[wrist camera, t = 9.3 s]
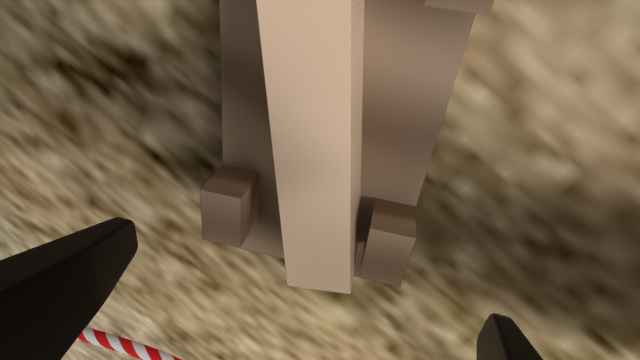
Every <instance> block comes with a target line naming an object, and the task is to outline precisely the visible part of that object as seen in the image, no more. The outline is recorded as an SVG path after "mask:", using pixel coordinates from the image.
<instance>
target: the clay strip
mask: <svg viewBox="0 0 640 360" xmlns="http://www.w3.org/2000/svg"><path fill="white" fill-rule="evenodd" d="M256 3H257V12H258V21H259V30H260V39H261V48H262V57H263V66H264V75H265V85H266V94H267V103H268V112H269V121H270V130H271V139H272V148H273V157H274V166H275V175H276V185H277V194H278V203H279V212H280V221H281V230H282V239H283V248H284V257H285V266H286V275H287V285H288V286H295V287H302V288H309V289H317V290H324V291H331V292H339V293H346V294H350V292H351V287H352V282H353V277H354V272H355V266H356V261H357V256H358V251H359V246H360V198H361V146H362V94H363V42H364V0H256Z"/></svg>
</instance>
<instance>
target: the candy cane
mask: <svg viewBox="0 0 640 360" xmlns="http://www.w3.org/2000/svg"><path fill="white" fill-rule="evenodd" d="M77 339H78V340H81V341H83V342H87V343H90V344H94V345H98V346H101V347H105V348H108V349H111V350H115V351H118V352H121V353H124V354H127V355H130V356H133V357H136V358H139V359H142V360H181V359H179V358H176V357H174V356H172V355H170V354H167V353H165V352H162V351H160V350H157V349H154V348H151V347H149V346H146V345H143V344H140V343H137V342H134V341H131V340H128V339H125V338H121V337H118V336H115V335H112V334H108V333H105V332H101V331H97V330H94V329H90V328H85V329H84V330H83V331H82V333H81V334H80V335H79V337H78V338H77Z"/></svg>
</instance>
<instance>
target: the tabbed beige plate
mask: <svg viewBox="0 0 640 360" xmlns="http://www.w3.org/2000/svg"><path fill="white" fill-rule="evenodd" d="M493 2H494V0H364V42H363V94H362V146H361V198H360V246H359V251H358V256H357V261H356V266H355V272H354V276H356V277H360V278H364V279H368V280H372V281H376V282H380V283H384V284H388V285H394V286H398V287H400V286H401V283H402V280H403V277H404V274H405V271H406V268H407V265H408V262H409V259H410V256H411V253H412V250H413V247H414V244H415V240H416V205H417V202H418V199H419V195H420V192H421V189H422V186H423V182H424V179H425V176H426V173H427V169H428V166H429V163H430V160H431V156H432V153H433V150H434V147H435V144H436V140H437V137H438V134H439V131H440V127H441V124H442V121H443V118H444V114H445V111H446V108H447V105H448V102H449V98H450V95H451V92H452V89H453V85H454V82H455V79H456V76H457V72H458V69H459V66H460V63H461V59H462V56H463V53H464V50H465V47H466V43H467V40H468V37H469V34H470V30H471V27H472V24H473V21H474V17H475V14H483V15H489V14H490V11H491V8H492V5H493ZM219 8H220V55H221V102H222V149H223V165H222V166H221V167H220V168H219V169H218V170H217V171H216V173H215V174H214V175H213V176H212V177H211V178H210V179H209V180H208V181H207V182H206V183H205V184H204V186H203V187H202V188H201V189H200V201H201V218H202V234H203V239H205V240H209V241H214V242H218V243H222V244H225V245H229V246H233V247H237V248H241V249H245V250H249V251H253V252H257V253H261V254H266V255H270V256H274V257H278V258H282V259H285V257H284V248H283V239H282V230H281V221H280V212H279V203H278V194H277V185H276V175H275V166H274V157H273V148H272V139H271V130H270V121H269V112H268V103H267V94H266V85H265V75H264V66H263V57H262V48H261V39H260V30H259V21H258V12H257V3H256V0H219Z"/></svg>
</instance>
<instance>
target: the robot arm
mask: <svg viewBox="0 0 640 360" xmlns="http://www.w3.org/2000/svg"><path fill="white" fill-rule="evenodd" d="M137 248H138V242H137V236H136V230H135V225H134V223H133V221H131V220H128V219H124V218H120V217H116V218H113V219H110V220H107V221H105V222H102V223H99V224H96V225H94V226H91V227H88V228H86V229H83V230H80V231H78V232H75V233H72V234H70V235H67V236H64V237H62V238H59V239H56V240H54V241H51V242H48V243H46V244H43V245H40V246H38V247H35V248H32V249H29V250H27V251H24V252H21V253H19V254H16V255H13V256H11V257H8V258H5V259H3V260H0V360H61V358H62V357H63V356H64V355H65V353H66V352H67V351H68V349H69V348H70V347H71V346H72V344H73V343H74V342H75V340H76V339H77V338H78V337H79V335H80V334H81V333H82V331H83V330H84V329H85V328H86V326H87V325H88V324H89V322H90V321H91V320H92V318H93V317H94V316H95V315H96V313H97V312H98V311H99V309H100V308H101V307H102V305H103V304H104V302H105V301H106V300H107V298H108V297H109V295H110V293H111V292H112V290H113V289H114V287H115V285H116V284H117V282H118V281H119V279H120V277H121V276H122V274H123V273H124V271H125V270H126V268H127V266H128V265H129V263H130V262H131V260H132V258H133V257H134V255H135V253H136V251H137ZM477 360H543V359H542V358H541V356H540V355H539V354H538V352H537V351H536V350H535V348H534V347H533V346H532V345H531V343H530V342H529V341H528V339H527V338H526V337H525V335H524V334H523V333H522V332H521V330H520V329H519V328H518V326H517V325H516V324H515V322H514V321H513V320H512V319H511V318H509V317H507V316H503V315H499V314H495V313H493V314H491V315H490V316H489V317H488V319H487V320H486V322H485V324H484V326H483V328H482V330H481V332H480V333H479V335H478V339H477Z"/></svg>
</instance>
